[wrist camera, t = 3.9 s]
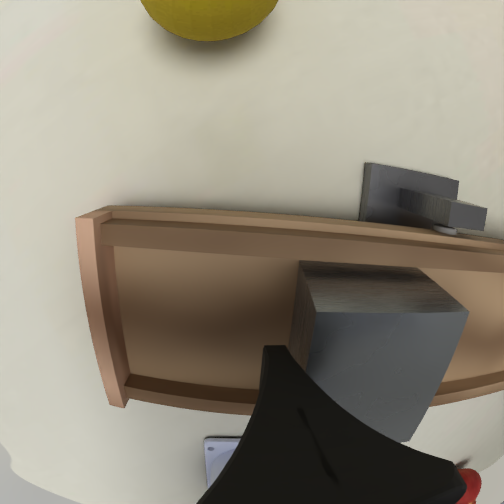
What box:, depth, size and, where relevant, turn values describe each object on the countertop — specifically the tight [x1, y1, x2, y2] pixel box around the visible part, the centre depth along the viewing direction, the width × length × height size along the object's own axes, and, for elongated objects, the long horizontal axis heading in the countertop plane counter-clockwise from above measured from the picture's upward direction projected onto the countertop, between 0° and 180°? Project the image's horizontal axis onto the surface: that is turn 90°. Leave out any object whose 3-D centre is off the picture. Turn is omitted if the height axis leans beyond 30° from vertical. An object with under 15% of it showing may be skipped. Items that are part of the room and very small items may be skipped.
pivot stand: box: [359, 163, 487, 231], centre depth 14 cm, size 14×6×5 cm, turn 176°
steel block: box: [288, 260, 470, 443], centre depth 10 cm, size 6×5×4 cm
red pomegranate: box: [456, 468, 481, 504], centre depth 24 cm, size 6×6×8 cm
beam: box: [75, 206, 504, 415], centre depth 12 cm, size 9×26×3 cm, turn 86°
